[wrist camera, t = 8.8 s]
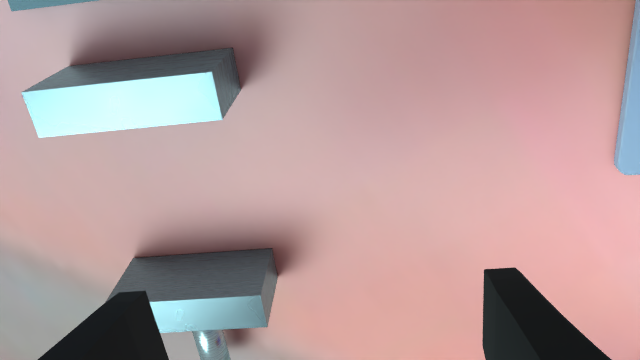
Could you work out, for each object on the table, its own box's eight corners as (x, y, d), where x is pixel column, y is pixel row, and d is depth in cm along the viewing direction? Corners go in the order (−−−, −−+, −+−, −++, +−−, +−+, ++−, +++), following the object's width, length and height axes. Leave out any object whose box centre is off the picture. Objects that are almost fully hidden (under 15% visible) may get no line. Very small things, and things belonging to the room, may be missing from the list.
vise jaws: (232, 47, 18) (211, 71, 16) (291, 347, 24) (283, 401, 22) (68, 66, 19) (21, 92, 16) (165, 354, 25) (143, 407, 22)
